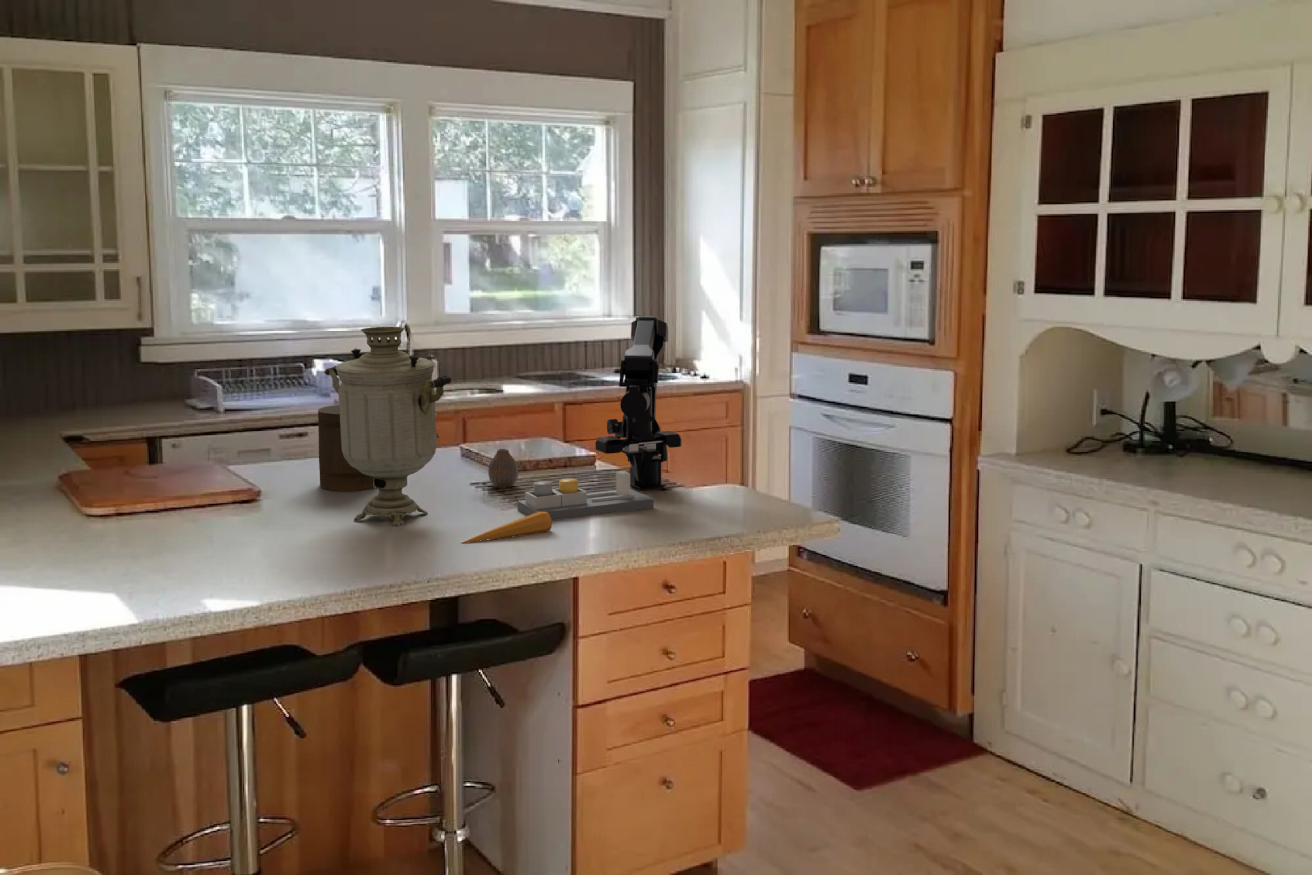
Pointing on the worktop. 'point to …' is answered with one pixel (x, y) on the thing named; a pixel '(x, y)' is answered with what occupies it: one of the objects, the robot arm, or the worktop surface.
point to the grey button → (542, 488)
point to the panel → (583, 503)
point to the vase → (503, 469)
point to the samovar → (387, 418)
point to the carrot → (519, 527)
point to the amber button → (568, 486)
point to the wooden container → (336, 456)
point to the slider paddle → (622, 483)
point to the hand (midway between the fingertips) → (638, 480)
